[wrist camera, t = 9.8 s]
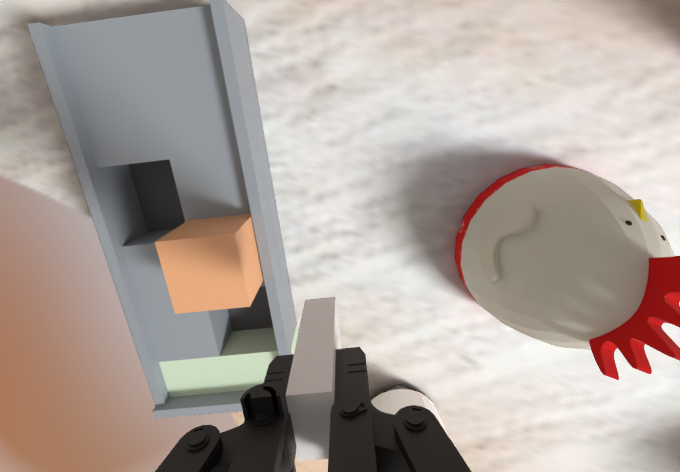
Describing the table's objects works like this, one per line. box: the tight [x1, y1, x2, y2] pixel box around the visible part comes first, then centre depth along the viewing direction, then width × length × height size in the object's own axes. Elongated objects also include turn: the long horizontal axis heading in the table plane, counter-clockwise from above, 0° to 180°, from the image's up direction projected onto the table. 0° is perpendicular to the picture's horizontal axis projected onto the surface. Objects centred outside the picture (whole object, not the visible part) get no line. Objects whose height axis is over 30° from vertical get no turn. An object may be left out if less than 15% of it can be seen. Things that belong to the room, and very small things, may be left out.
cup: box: [370, 385, 449, 437], centre depth 31 cm, size 10×10×13 cm
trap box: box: [27, 0, 298, 418], centre depth 28 cm, size 30×12×6 cm, turn 7°
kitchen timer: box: [455, 164, 680, 380], centre depth 24 cm, size 14×14×15 cm
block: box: [155, 214, 264, 314], centre depth 25 cm, size 5×5×5 cm
